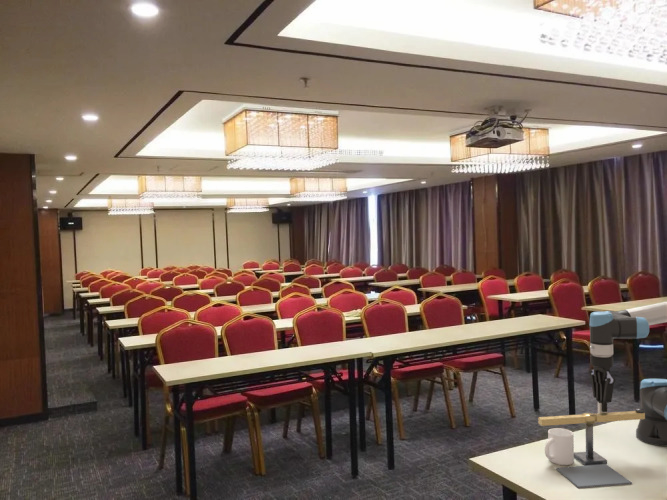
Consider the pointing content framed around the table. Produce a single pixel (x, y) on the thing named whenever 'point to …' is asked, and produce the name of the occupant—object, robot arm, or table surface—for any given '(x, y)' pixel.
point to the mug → (560, 446)
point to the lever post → (589, 450)
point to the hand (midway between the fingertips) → (602, 419)
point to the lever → (592, 418)
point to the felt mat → (593, 476)
